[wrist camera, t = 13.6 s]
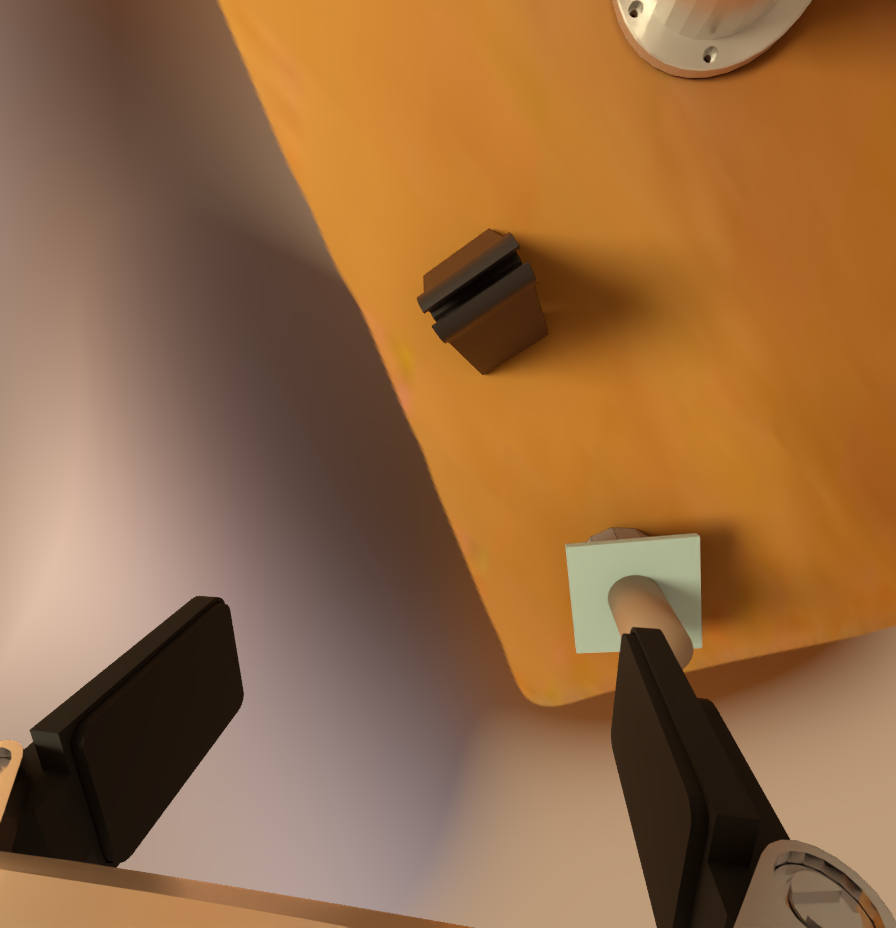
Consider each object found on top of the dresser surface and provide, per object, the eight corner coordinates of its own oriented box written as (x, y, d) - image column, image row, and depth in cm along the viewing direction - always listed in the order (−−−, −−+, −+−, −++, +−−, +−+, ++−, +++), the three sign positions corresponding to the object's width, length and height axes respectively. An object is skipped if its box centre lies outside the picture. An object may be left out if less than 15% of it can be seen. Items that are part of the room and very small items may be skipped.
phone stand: (548, 334, 35) (566, 331, 23) (482, 375, 36) (469, 390, 25) (490, 229, 33) (479, 170, 22) (424, 275, 35) (381, 243, 23)
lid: (565, 544, 34) (577, 589, 28) (696, 532, 33) (740, 578, 26) (575, 648, 37) (589, 712, 30) (698, 642, 35) (740, 709, 29)
